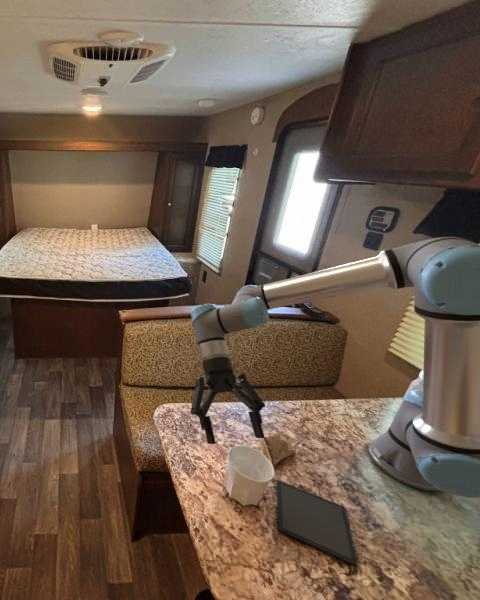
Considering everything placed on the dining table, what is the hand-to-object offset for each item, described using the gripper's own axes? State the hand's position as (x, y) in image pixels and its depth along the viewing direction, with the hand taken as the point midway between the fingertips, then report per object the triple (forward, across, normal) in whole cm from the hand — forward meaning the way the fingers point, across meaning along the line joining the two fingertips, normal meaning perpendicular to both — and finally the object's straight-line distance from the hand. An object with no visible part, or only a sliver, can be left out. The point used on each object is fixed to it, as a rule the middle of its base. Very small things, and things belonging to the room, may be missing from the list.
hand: (236, 440), depth 80 cm
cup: (+12, 0, -4) cm, 12 cm away
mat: (+18, -12, +3) cm, 22 cm away
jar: (+2, -72, -13) cm, 73 cm away
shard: (+6, -18, -10) cm, 21 cm away
